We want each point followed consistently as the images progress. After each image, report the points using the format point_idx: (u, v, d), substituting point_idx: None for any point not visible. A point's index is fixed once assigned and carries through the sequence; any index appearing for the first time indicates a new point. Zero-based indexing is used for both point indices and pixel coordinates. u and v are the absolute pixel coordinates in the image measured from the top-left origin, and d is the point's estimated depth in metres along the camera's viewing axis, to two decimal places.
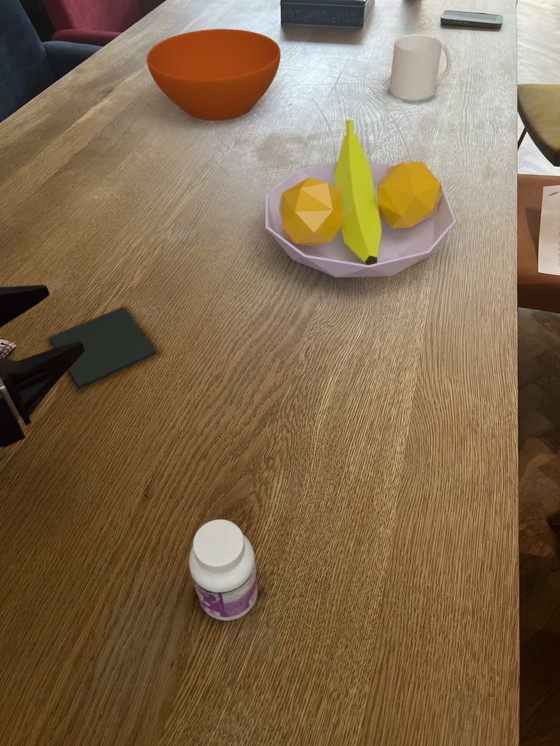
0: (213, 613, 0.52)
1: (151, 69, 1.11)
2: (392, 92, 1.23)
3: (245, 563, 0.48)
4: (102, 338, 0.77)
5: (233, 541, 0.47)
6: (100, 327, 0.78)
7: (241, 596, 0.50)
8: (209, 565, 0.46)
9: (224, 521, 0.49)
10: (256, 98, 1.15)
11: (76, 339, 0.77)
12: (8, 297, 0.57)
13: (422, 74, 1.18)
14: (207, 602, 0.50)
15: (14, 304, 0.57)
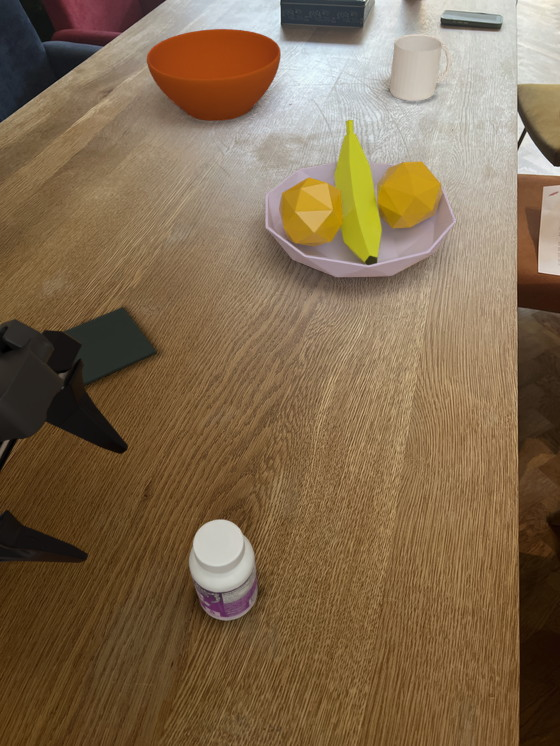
0: (213, 613, 0.52)
1: (151, 69, 1.11)
2: (392, 92, 1.23)
3: (245, 563, 0.48)
4: (102, 338, 0.77)
5: (233, 541, 0.47)
6: (100, 327, 0.78)
7: (241, 596, 0.50)
8: (209, 565, 0.46)
9: (224, 521, 0.49)
10: (256, 98, 1.15)
11: (76, 339, 0.77)
12: (91, 424, 0.47)
13: (422, 74, 1.18)
14: (207, 602, 0.50)
15: (87, 430, 0.47)
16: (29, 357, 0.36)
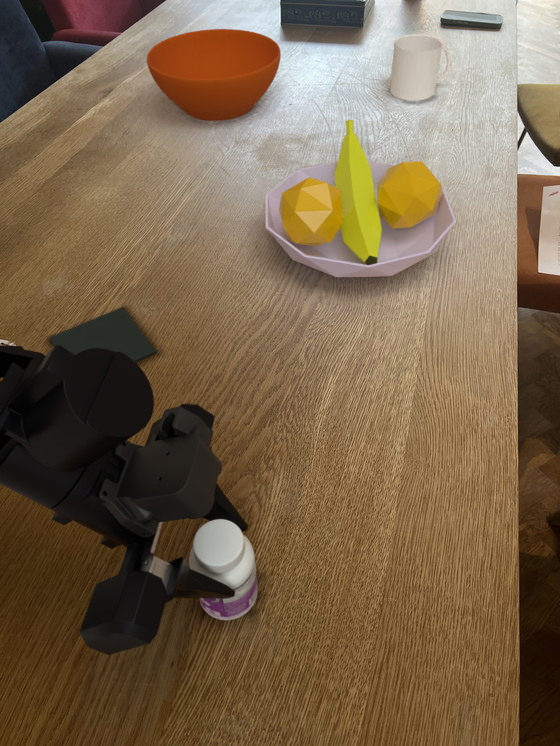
0: (213, 613, 0.52)
1: (151, 69, 1.11)
2: (392, 92, 1.23)
3: (245, 563, 0.48)
4: (102, 338, 0.77)
5: (233, 541, 0.47)
6: (100, 327, 0.78)
7: (241, 596, 0.50)
8: (209, 565, 0.46)
9: (224, 521, 0.49)
10: (256, 98, 1.15)
11: (76, 339, 0.77)
12: (217, 508, 0.50)
13: (422, 74, 1.18)
14: (207, 602, 0.50)
15: (212, 512, 0.50)
16: (200, 445, 0.40)
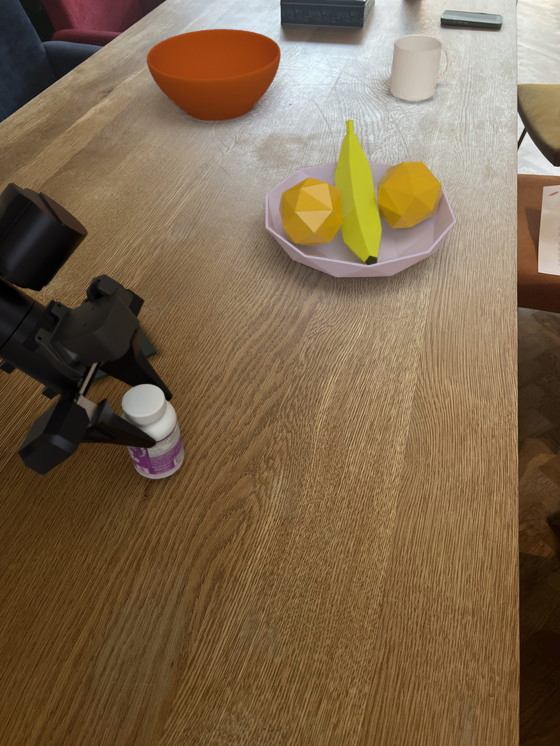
0: (143, 470, 0.61)
1: (151, 69, 1.11)
2: (392, 92, 1.23)
3: (166, 420, 0.57)
4: None
5: (155, 399, 0.56)
6: None
7: (165, 452, 0.59)
8: (133, 416, 0.55)
9: (149, 385, 0.58)
10: (256, 98, 1.15)
11: None
12: (145, 376, 0.59)
13: (422, 74, 1.18)
14: (136, 458, 0.59)
15: (141, 381, 0.59)
16: (118, 300, 0.49)
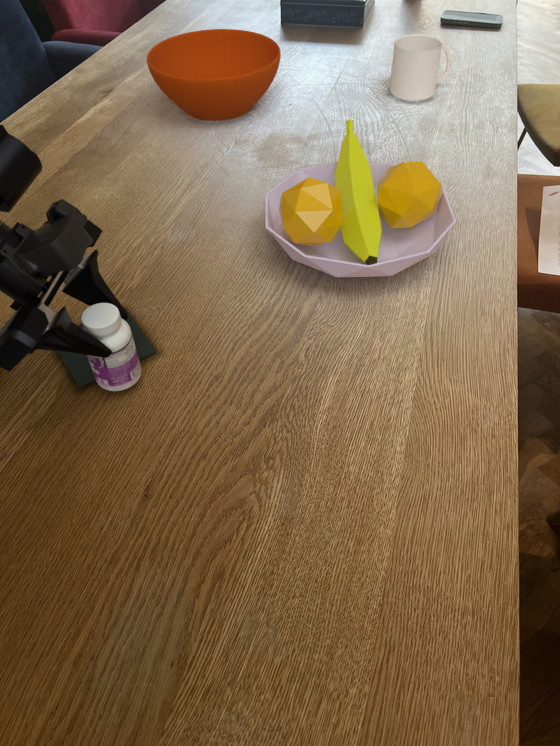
0: (103, 383, 0.69)
1: (151, 69, 1.11)
2: (392, 92, 1.23)
3: (121, 334, 0.65)
4: None
5: (111, 314, 0.64)
6: None
7: (121, 364, 0.67)
8: (90, 327, 0.63)
9: (106, 303, 0.65)
10: (256, 98, 1.15)
11: None
12: (103, 296, 0.66)
13: (422, 74, 1.18)
14: (96, 370, 0.67)
15: (100, 302, 0.67)
16: (72, 219, 0.57)
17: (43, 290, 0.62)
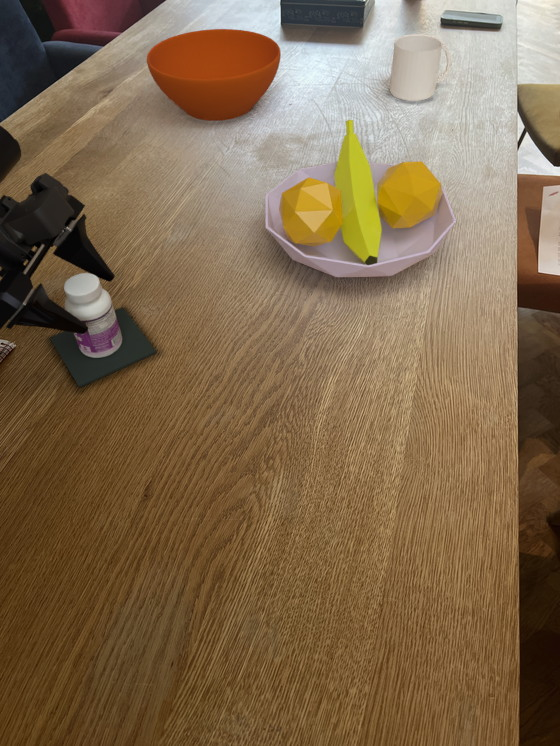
0: (86, 349, 0.73)
1: (151, 69, 1.11)
2: (392, 92, 1.23)
3: (102, 302, 0.70)
4: None
5: (92, 283, 0.69)
6: None
7: (102, 330, 0.71)
8: (72, 295, 0.68)
9: (88, 273, 0.70)
10: (256, 98, 1.15)
11: None
12: (90, 257, 0.72)
13: (422, 74, 1.18)
14: (79, 337, 0.72)
15: (88, 263, 0.73)
16: (54, 190, 0.62)
17: None
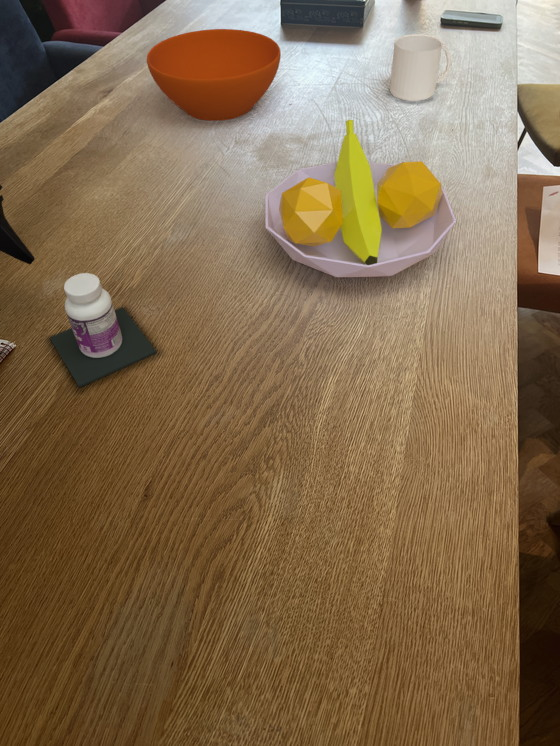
0: (86, 349, 0.73)
1: (151, 69, 1.11)
2: (392, 92, 1.23)
3: (102, 302, 0.70)
4: None
5: (92, 283, 0.69)
6: None
7: (102, 330, 0.71)
8: (73, 295, 0.68)
9: (88, 273, 0.70)
10: (256, 98, 1.15)
11: None
12: (8, 239, 0.72)
13: (422, 74, 1.18)
14: (79, 337, 0.72)
15: (7, 245, 0.72)
16: None
17: None
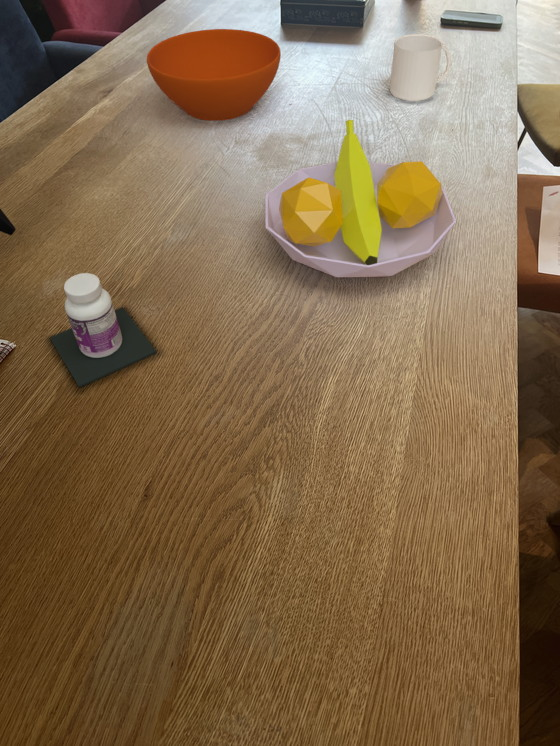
0: (86, 349, 0.73)
1: (151, 69, 1.11)
2: (392, 92, 1.23)
3: (102, 302, 0.70)
4: None
5: (92, 283, 0.69)
6: None
7: (102, 330, 0.71)
8: (73, 295, 0.68)
9: (88, 273, 0.70)
10: (256, 98, 1.15)
11: None
12: None
13: (422, 74, 1.18)
14: (79, 337, 0.72)
15: None
16: None
17: None
